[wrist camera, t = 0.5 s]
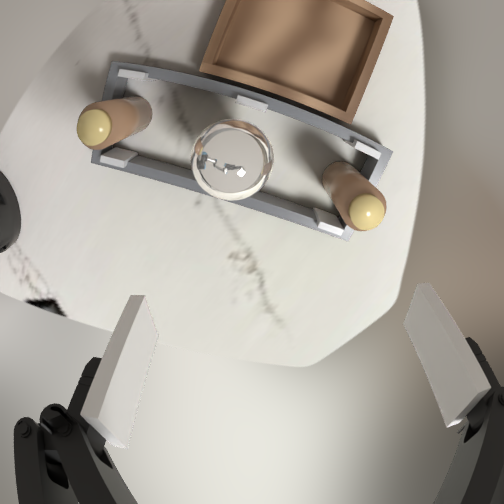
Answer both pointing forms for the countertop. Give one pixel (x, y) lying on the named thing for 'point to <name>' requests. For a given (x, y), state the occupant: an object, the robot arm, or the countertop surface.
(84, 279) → the countertop surface
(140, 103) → the cylinder
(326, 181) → the cylinder
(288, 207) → the holder
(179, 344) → the countertop surface
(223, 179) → the light bulb
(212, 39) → the tray
